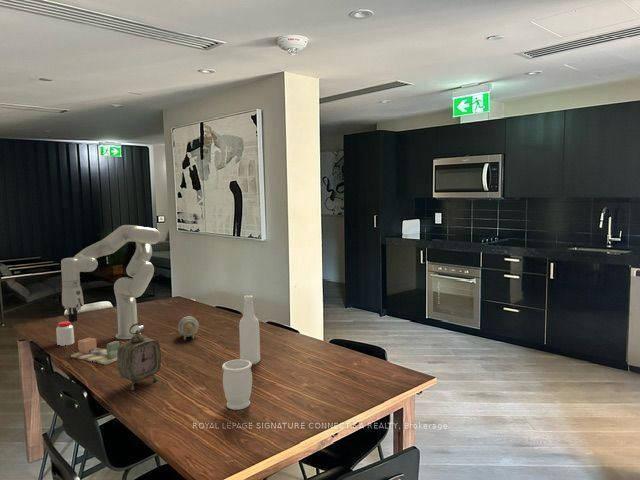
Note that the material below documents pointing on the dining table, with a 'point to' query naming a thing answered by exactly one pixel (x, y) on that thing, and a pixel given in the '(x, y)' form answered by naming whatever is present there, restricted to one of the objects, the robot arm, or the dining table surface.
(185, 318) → the toy sheep
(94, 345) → the block
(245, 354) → the alcohol
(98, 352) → the rail board
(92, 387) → the dining table surface
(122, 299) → the robot arm
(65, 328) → the pill bottle
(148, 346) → the tabletop clock
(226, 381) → the jar
